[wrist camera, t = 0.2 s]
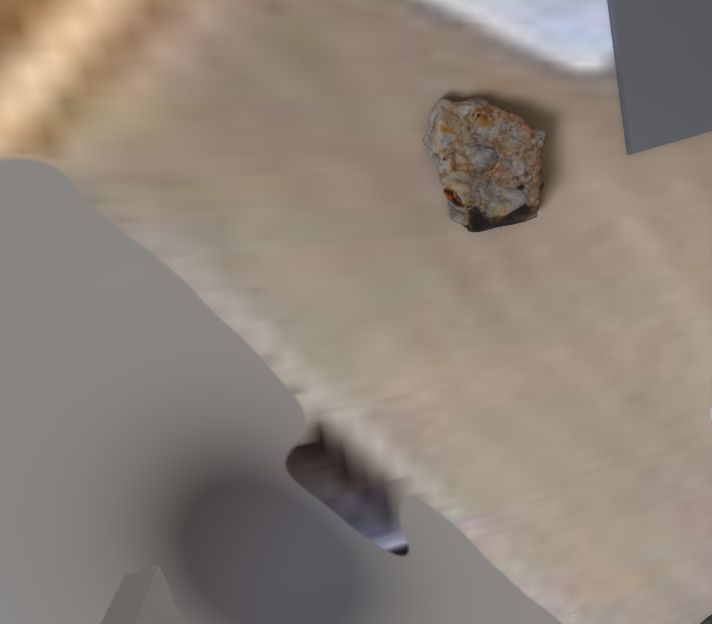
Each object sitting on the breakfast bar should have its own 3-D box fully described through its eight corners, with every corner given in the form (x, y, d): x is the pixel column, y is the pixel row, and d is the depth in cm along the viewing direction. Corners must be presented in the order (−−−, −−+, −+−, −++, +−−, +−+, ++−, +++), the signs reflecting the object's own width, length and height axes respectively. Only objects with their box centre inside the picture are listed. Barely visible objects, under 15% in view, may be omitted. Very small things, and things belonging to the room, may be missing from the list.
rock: (544, 210, 38) (537, 74, 34) (565, 232, 33) (560, 75, 29) (436, 229, 40) (417, 102, 36) (439, 253, 35) (417, 108, 31)
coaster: (601, -42, 34) (607, -47, 34) (782, -91, 35) (790, -96, 34) (627, 154, 38) (632, 153, 37) (791, 107, 38) (798, 105, 38)
